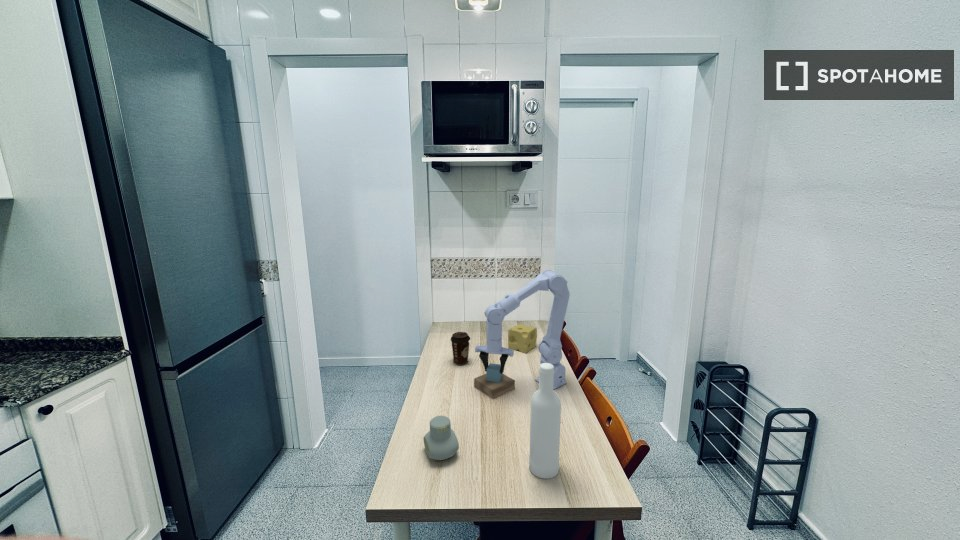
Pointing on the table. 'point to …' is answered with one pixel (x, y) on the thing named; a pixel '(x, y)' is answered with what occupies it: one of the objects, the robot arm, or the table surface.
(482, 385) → the plate
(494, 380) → the teal cube
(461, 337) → the coffee cup
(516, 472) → the table surface
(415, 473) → the table surface
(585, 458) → the table surface
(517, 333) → the cheese
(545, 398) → the bottle
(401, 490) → the table surface
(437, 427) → the air freshener
